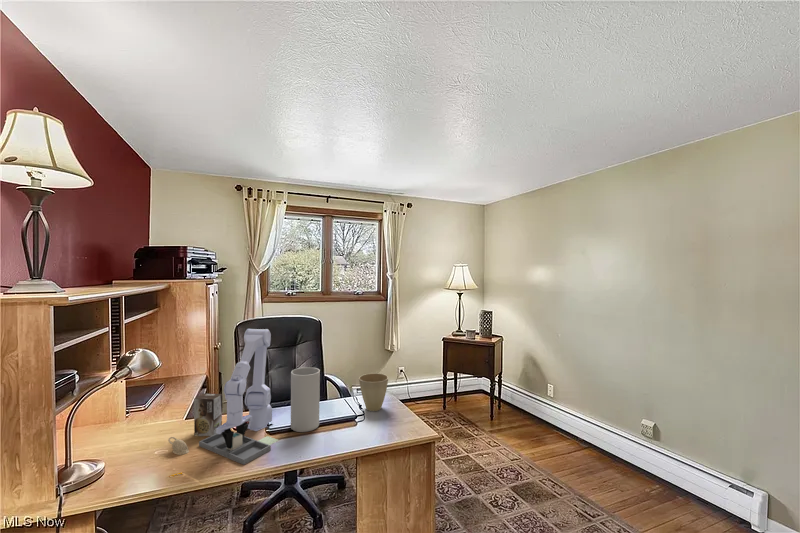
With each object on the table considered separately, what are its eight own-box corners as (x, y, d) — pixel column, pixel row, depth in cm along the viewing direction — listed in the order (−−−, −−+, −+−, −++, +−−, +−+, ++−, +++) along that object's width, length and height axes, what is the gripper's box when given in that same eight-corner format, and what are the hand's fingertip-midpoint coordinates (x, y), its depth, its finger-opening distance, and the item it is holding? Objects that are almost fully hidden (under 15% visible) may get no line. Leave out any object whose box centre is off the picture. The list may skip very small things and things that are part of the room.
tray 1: (226, 434, 156) (226, 429, 156) (240, 439, 152) (240, 434, 152) (198, 446, 146) (198, 441, 146) (212, 452, 141) (212, 447, 141)
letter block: (235, 444, 147) (235, 431, 147) (242, 447, 145) (242, 434, 145) (226, 448, 143) (226, 435, 143) (233, 451, 141) (233, 438, 141)
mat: (267, 436, 155) (267, 436, 155) (279, 441, 151) (279, 440, 151) (253, 443, 148) (253, 442, 148) (265, 448, 145) (265, 447, 145)
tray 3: (255, 445, 147) (255, 439, 147) (270, 451, 143) (270, 445, 143) (228, 459, 137) (228, 453, 137) (243, 465, 132) (243, 459, 132)
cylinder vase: (290, 422, 169) (290, 368, 169) (318, 419, 173) (318, 366, 173) (290, 434, 157) (291, 376, 157) (320, 430, 161) (321, 374, 161)
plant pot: (376, 400, 197) (376, 371, 197) (393, 409, 185) (394, 378, 185) (352, 407, 187) (353, 376, 187) (369, 417, 176) (370, 384, 176)
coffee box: (222, 430, 160) (222, 393, 160) (213, 437, 154) (214, 399, 154) (203, 429, 161) (203, 392, 161) (193, 436, 155) (193, 398, 155)
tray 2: (240, 439, 152) (240, 434, 152) (254, 445, 147) (255, 439, 147) (213, 452, 141) (213, 447, 141) (227, 459, 137) (227, 453, 137)
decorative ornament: (180, 457, 138) (180, 443, 138) (166, 452, 141) (166, 438, 141) (190, 452, 141) (190, 438, 141) (176, 447, 145) (176, 434, 145)
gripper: (243, 402, 152) (243, 435, 152) (211, 414, 140) (210, 450, 140) (255, 405, 149) (255, 439, 149) (222, 418, 136) (222, 455, 136)
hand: (234, 444), depth 144 cm, fingers closed on letter block, 4 cm apart
